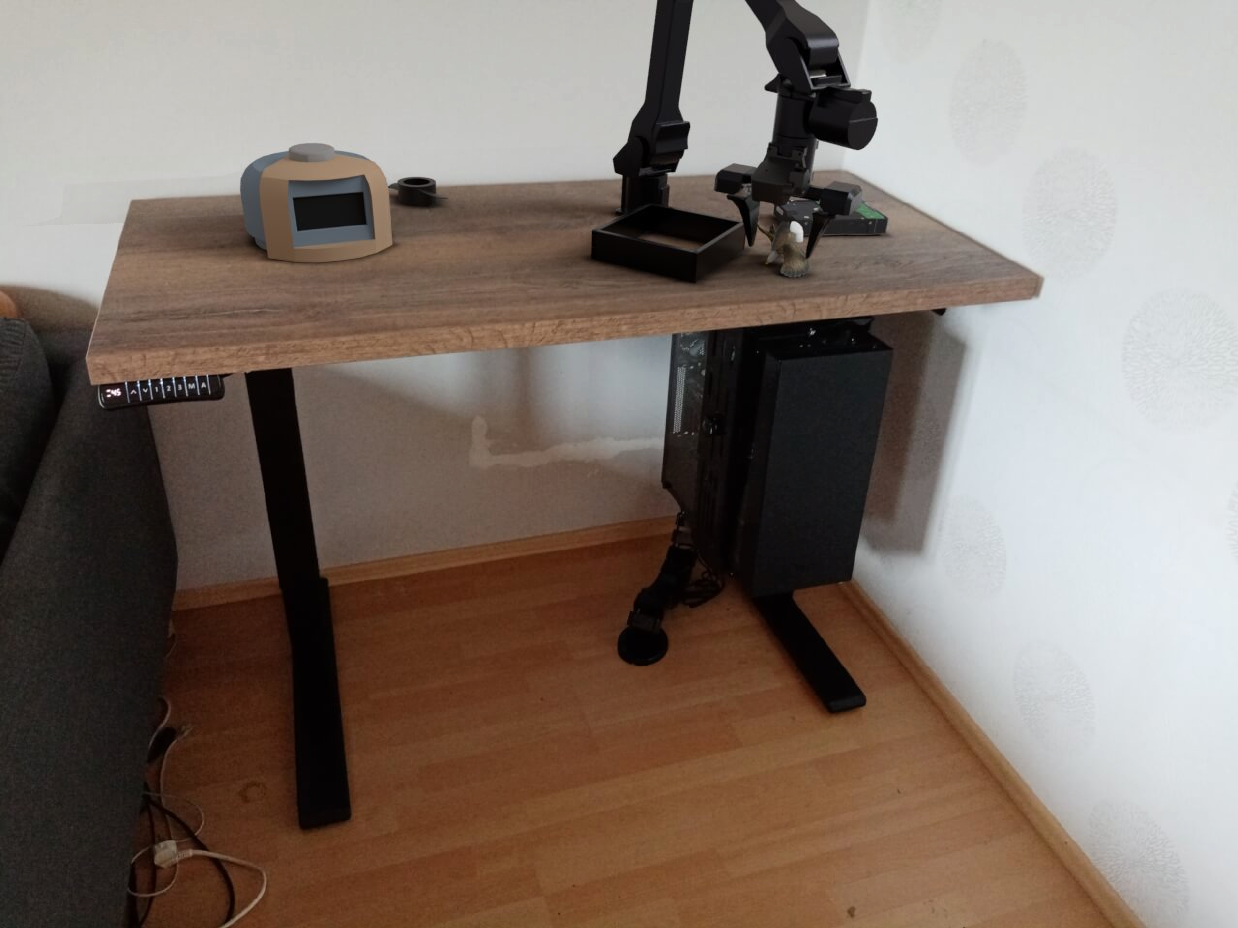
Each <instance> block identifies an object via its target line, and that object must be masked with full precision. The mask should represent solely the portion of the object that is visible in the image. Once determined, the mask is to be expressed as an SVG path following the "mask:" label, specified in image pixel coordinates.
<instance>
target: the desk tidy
mask: <svg viewBox="0 0 1238 928" xmlns="http://www.w3.org/2000/svg"><path fill="white" fill-rule="evenodd" d="M648 232H651V233H655V234H661V235H665V236H670V237H674V238H680V239H684V240H688V241H693V242H698V243H703V245H702V246H700V247H699V248H697V249H695V250H694V249H688V248H684V247H680V246H675V245H670V244H666V243H662V242H658V241H653V240H648V239H643V238H639V237H642V236H643V235H645V234H647V233H648ZM590 237H591V241H590V260H594V261H598V262H603V263H607V264H610V265H615V266H620V267H624V268H628V269H633V270H637V271H641V272H645V273H649V274H653V275H657V276H663V277H667V278H671V279H675V280H680V281H683V282H689V283H693V284H696V283H697V282H699V281H700V280H702V279H703V278H705V277H706V276H707V275H709V274H711V273H712V272H714V271H715V270H717V269H718V268H719V267H721V266H723V265H724V264H725V263H727V262H728V261H730V260H732V259H733V258H734V257H736V256H737V255H739V254H740V253H741V252H743V251H745V247H746V240H747V238H746V233H745V229H744V225H743V221H742V220H738V219H734V218H729V217H725V216H720V215H714V214H709V213H705V212H701V211H700V212H699V211H694V210H690V209H685V208H680V207H676V206H675V207H674V206H670V205H668V206H665V205H660V204H655V203H650V202H648V203H646V204H644V205H642V206H640V207H638V208H636V209H634V210H632V211H630V212H628V213H626V214H624V215H620V216H618V217H616V218H613V219H612V220H610V221H608V222H605V223H603V224H602V225H599V226H597V227H595V228H593V229H592V230H591V236H590Z"/></svg>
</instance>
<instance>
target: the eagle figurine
mask: <svg viewBox="0 0 1238 928" xmlns="http://www.w3.org/2000/svg"><path fill="white" fill-rule="evenodd" d="M757 230H759V231H760V232H761V233H762V234H763V235H765V237H767V238H768V239H769V241H770V243H771V246H770V253H769V254H768V256H767V260H766V262H765V263H764V264H765V265H768V264H770V263H773V262H774V261H775V260H776V258H777V257H779V256H781V255H783V264H782V266H781V268H780V274H782V275H783V276H785V277H788V278H790V279H791V278H793V279H794V278H797V277H798V278H799V277H801V276H804V275H805V274H807V273H808V272H809V270H810V262H809V259H806V258H805V257H806V251H804V250H803V248H802V247H801V246H800V245H799V244H801V243H803V241H804V235H803V230H802V226H801V225H800V224H799V223H797V222H795V221H792V222H791V224H790V229H789V221H788V222H783V221H782V222H779V225H778V226H777V228H775V224H774V223H771V224H770V226H769V229H768V230H767V229H765V228H764V227H763V226H762V225H761V223H760V222H758V225H757Z"/></svg>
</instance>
